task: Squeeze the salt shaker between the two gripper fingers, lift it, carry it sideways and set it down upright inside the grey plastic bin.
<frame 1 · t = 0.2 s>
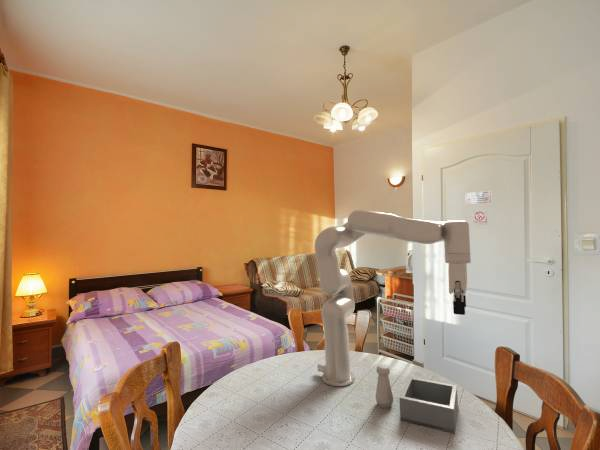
hand: (460, 310, 106), 31 cm above the table, tool pointing down, fingers open, 9 cm apart
bin: (430, 413, 102), on the table
salt shaker: (384, 405, 108), on the table
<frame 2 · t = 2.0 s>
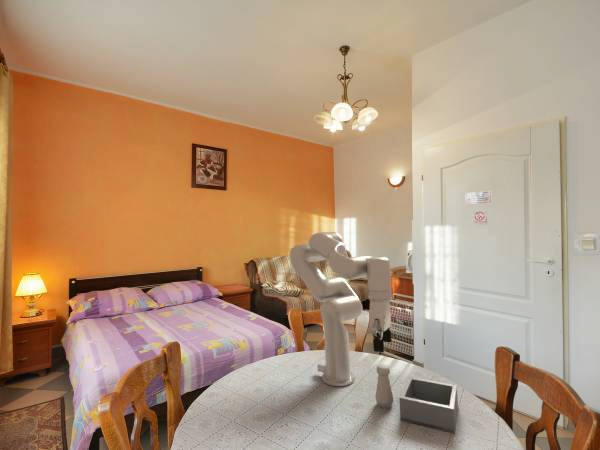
hand: (382, 346, 107), 20 cm above the table, tool pointing down, fingers open, 9 cm apart
nothing on the table moved.
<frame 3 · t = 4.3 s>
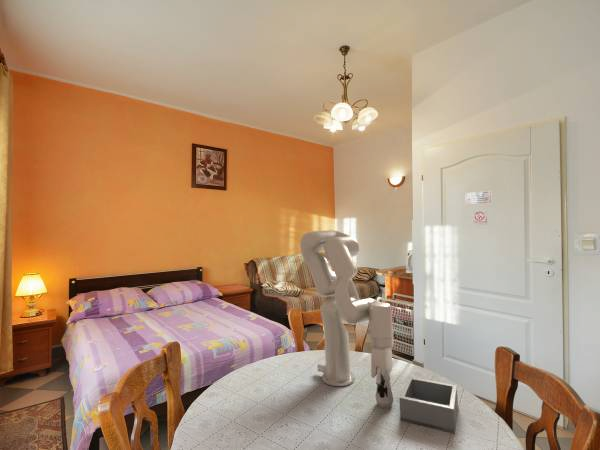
hand: (384, 395, 108), 3 cm above the table, tool pointing down, fingers closed on salt shaker, 3 cm apart
salt shaker: (384, 405, 108), on the table, touching gripper
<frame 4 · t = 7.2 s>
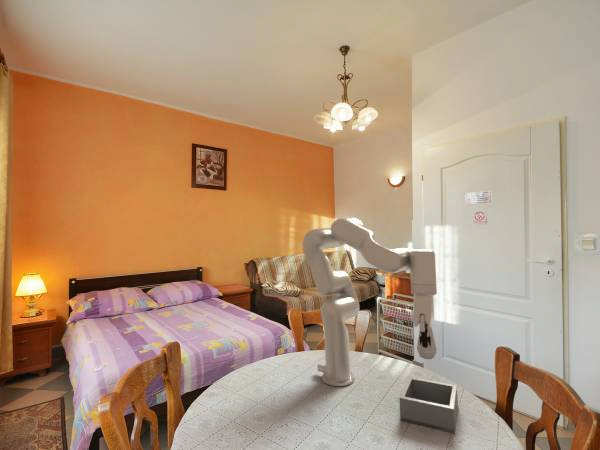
hand: (426, 346, 102), 21 cm above the table, tool pointing down, fingers closed on salt shaker, 3 cm apart
salt shaker: (427, 357, 102), point 18 cm above the table, touching gripper
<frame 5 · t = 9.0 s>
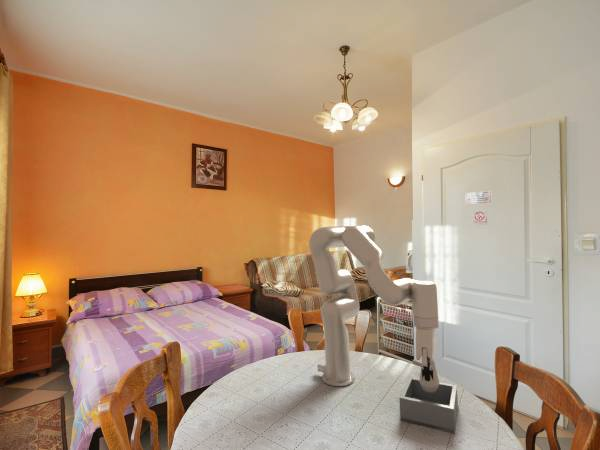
hand: (428, 379, 102), 11 cm above the table, tool pointing down, fingers closed on salt shaker, 3 cm apart
salt shaker: (429, 390, 102), point 7 cm above the table, touching gripper
when the fingers open (6 cm above the table, at t = 10.3 s): salt shaker drops 1 cm, resting on bin.
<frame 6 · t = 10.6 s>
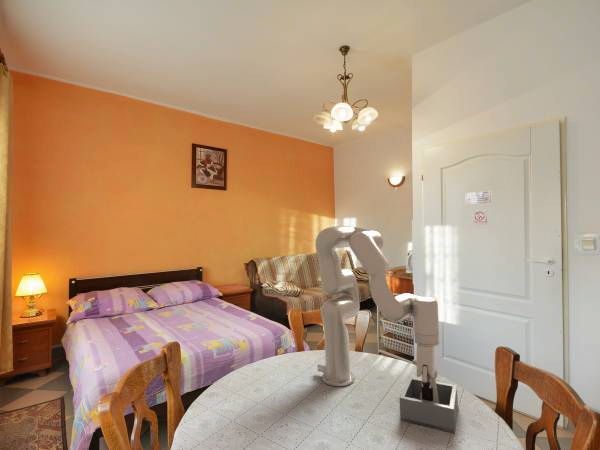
hand: (429, 394, 102), 6 cm above the table, tool pointing down, fingers open, 6 cm apart
salt shaker: (429, 410, 102), point 1 cm above the table, touching bin
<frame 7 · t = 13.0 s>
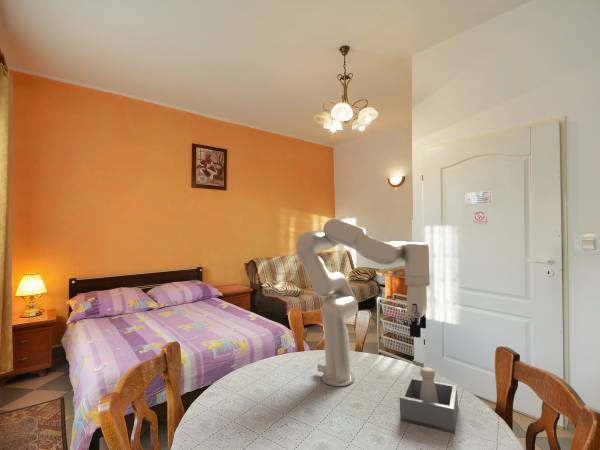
hand: (418, 332, 106), 24 cm above the table, tool pointing down, fingers open, 9 cm apart
nothing on the table moved.
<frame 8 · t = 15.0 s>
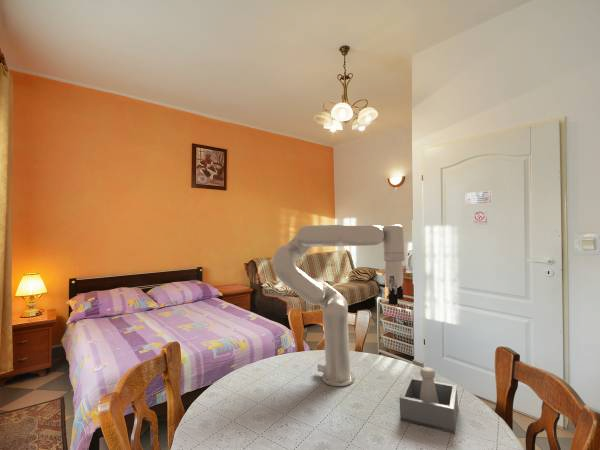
hand: (396, 301, 124), 30 cm above the table, tool pointing down, fingers open, 9 cm apart
nothing on the table moved.
at the end: salt shaker inside the target area on the bin (0.2 cm from its centre), point 0.8 cm above the bin's base; salt shaker tilted 0°; the gripper is holding nothing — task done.
